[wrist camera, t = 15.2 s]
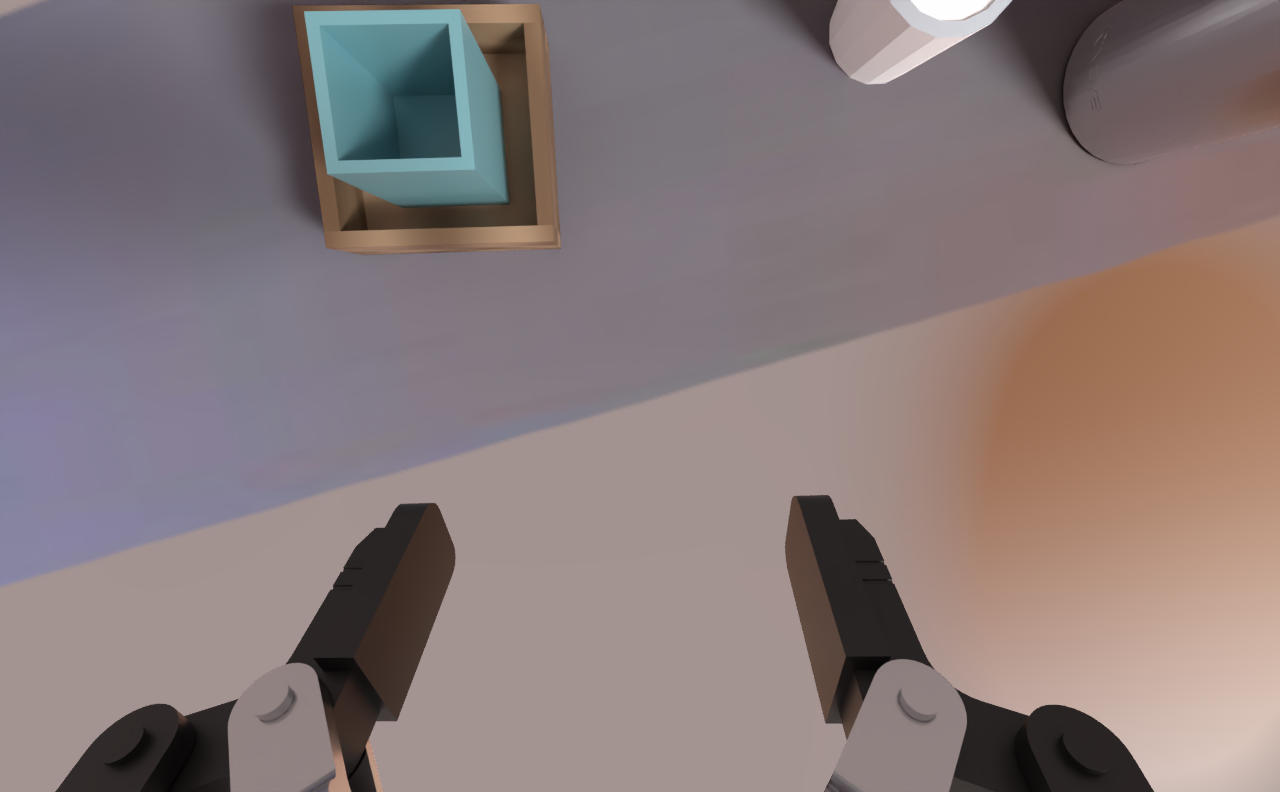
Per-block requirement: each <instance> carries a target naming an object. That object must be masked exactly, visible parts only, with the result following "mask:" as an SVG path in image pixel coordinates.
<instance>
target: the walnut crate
mask: <svg viewBox="0 0 1280 792" xmlns="http://www.w3.org/2000/svg"><path fill="white" fill-rule="evenodd" d="M292 7H293V14H294V21H295V28H296V35H297V42H298V50H299V57H300V64H301V71H302V78H303V85H304V92H305V100H306V107H307V114H308V121H309V128H310V135H311V142H312V149H313V157H314V164H315V171H316V178H317V185H318V192H319V199H320V207H321V214H322V221H323V228H324V235H325V242H326V248H329V249H334V250H340V251H345V252H350V253H356V254H361V255H374V254H406V253H438V252H470V251H502V250H534V249H561V240H560V224H559V207H558V191H557V175H556V158H555V142H554V126H553V110H552V93H551V77H550V61H549V44H548V40H547V36H546V31H545V27H544V23H543V18H542V14H541V10H540V5H539V4H474V5H317V6H292ZM435 9H460V10H461V12H462V14H463V16H464V18H465V20H466V22H467V24H468V26H469V28H470V30H471V32H472V34H473V36H474V38H475V40H476V42H477V44H478V46H479V48H480V50H481V52H482V54H483V56H484V58H485V60H486V62H487V64H488V66H489V68H490V70H491V72H492V74H493V76H494V78H495V80H496V82H497V83H498V85H499V87H500V89H501V101H502V113H503V125H504V137H505V149H506V161H507V173H508V184H509V196H510V204H508V205H479V206H449V207H419V208H401V207H399V206H397V205H395V204H392V203H390V202H388V201H386V200H384V199H381V198H379V197H377V196H375V195H373V194H370V193H368V192H366V191H364V190H361V189H359V188H357V187H355V186H353V185H350V184H348V183H346V182H344V181H342V180H339V179H337V178H335V177H333V176H331V175H328V174H327V168H326V161H325V154H324V147H323V140H322V133H321V126H320V120H319V113H318V106H317V99H316V92H315V85H314V78H313V71H312V64H311V57H310V50H309V43H308V36H307V29H306V22H305V15H304V11H365V10H435Z"/></svg>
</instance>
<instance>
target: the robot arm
mask: <svg viewBox="0 0 1280 792" xmlns="http://www.w3.org/2000/svg"><path fill="white" fill-rule="evenodd" d="M1063 102H1064V107H1065V113H1066V118H1067V121H1068V123H1069V125H1070V128H1071V130H1072V133H1073V134H1074V136H1075V137H1076V138H1077V140H1078V141H1079V143H1080V144H1081V145H1082V146H1083V147H1084V148H1085V149H1086V150H1087V151H1089V152H1090V153H1091V154H1092V155H1094V156H1096V157H1098V158H1100V159H1102V160H1104V161H1106V162H1110V163H1115V164H1120V165H1122V164H1137V163H1141V162H1145V161H1149V160H1153V159H1157V158H1161V157H1165V156H1169V155H1173V154H1176V153H1180V152H1184V151H1188V150H1192V149H1196V148H1200V147H1204V146H1208V145H1213V144H1217V143H1221V142H1225V141H1228V140H1232V139H1236V138H1240V137H1244V136H1248V135H1252V134H1255V133H1259V132H1263V131H1267V130H1271V129H1275V128H1279V127H1280V0H1123V1H1121V2H1119V3H1118V4H1116V5H1114V6H1112V7H1111V8H1109V9H1108V10H1107V11H1105V12H1104V13H1103V14H1101V15H1100V16H1099V17H1098V18H1096V19H1095V20H1094V21H1093V22H1092V24H1091V25H1090V26H1089V27H1088V28H1087V29H1086V30H1085V32H1084V33H1083V34H1082V36H1081V38H1080V39H1079V41H1078V42H1077V44H1076V46H1075V47H1074V49H1073V52H1072V55H1071V57H1070V60H1069V62H1068V65H1067V69H1066V74H1065V79H1064V92H1063ZM785 544H786V545H785V553H786V562H787V569H788V573H789V577H790V581H791V585H792V589H793V593H794V597H795V601H796V605H797V610H798V613H799V617H800V622H801V625H802V630H803V633H804V638H805V642H806V646H807V650H808V654H809V658H810V662H811V666H812V670H813V674H814V678H815V682H816V686H817V691H818V694H819V698H820V702H821V707H822V711H823V715H824V719H825V723H842V724H843V727H844V731H845V735H846V739H847V742H846V744H845V747H844V749H843V751H842V753H841V756H840V758H839V760H838V763H837V765H836V768H835V770H834V772H833V774H832V776H831V779H830V781H829V783H828V785H827V786H826V789H825V791H824V792H1154V791H1153V789H1152V788H1151V786H1150V785H1149V783H1148V781H1147V779H1146V778H1145V776H1144V774H1143V773H1142V771H1141V769H1140V768H1139V766H1138V764H1137V763H1136V761H1135V760H1134V758H1133V756H1132V755H1131V753H1130V752H1129V751H1128V749H1127V748H1126V746H1125V745H1124V744H1123V743H1122V742H1121V741H1120V739H1119V738H1118V737H1117V736H1115V735H1114V734H1113V733H1112V732H1111V731H1110V730H1109V729H1108V728H1107V727H1105V726H1104V725H1103V724H1101V723H1100V722H1098V721H1097V720H1095V719H1094V718H1092V717H1091V716H1089V715H1087V714H1085V713H1083V712H1081V711H1078V710H1076V709H1074V708H1070V707H1066V706H1062V705H1046V706H1042V707H1039V708H1037V709H1036V710H1035V711H1033V713H1031V715H1030V716H1027V715H1024V714H1021V713H1018V712H1015V711H1011V710H1008V709H1005V708H1002V707H998V706H995V705H992V704H989V703H985V702H982V701H980V700H977V699H974V698H972V697H970V696H968V695H966V694H964V693H962V692H960V691H959V690H957V689H956V688H954V687H953V686H952V684H951V683H950V682H949V681H948V680H947V679H946V678H945V677H944V676H942V675H941V674H940V673H938V672H937V671H936V670H935V669H934V668H933V667H932V666H931V664H930V662H929V661H928V659H927V657H926V655H925V653H924V651H923V649H922V647H921V645H920V642H919V640H918V638H917V635H916V633H915V631H914V628H913V626H912V624H911V622H910V619H909V617H908V615H907V613H906V610H905V608H904V605H903V603H902V601H901V598H900V596H899V594H898V592H897V589H896V587H895V585H894V584H893V583H892V578H891V576H890V573H889V571H888V569H887V566H886V565H884V559H883V557H882V555H881V553H880V550H879V548H878V546H877V543H876V541H875V539H874V538H873V536H872V535H871V534H870V533H869V532H868V531H867V530H866V529H865V528H864V527H863V526H862V525H861V524H860V523H859V522H858V521H857V520H856V519H853V520H852V519H849V520H839V517H838V515H837V512H836V509H835V507H834V504H833V502H832V500H831V498H830V496H828V495H817V496H794V497H793V498H792V501H791V508H790V515H789V521H788V528H787V535H786V543H785ZM454 566H455V548H454V545H453V542H452V540H451V537H450V535H449V532H448V529H447V527H446V524H445V522H444V519H443V517H442V514H441V512H440V509H439V508H438V506H437V505H436V504H435V503H419V504H400V505H399V506H398V507H397V508H396V509H395V511H394V512H393V514H392V516H391V518H390V519H389V521H388V523H387V525H386V527H385V528H375V529H374V530H373V531H372V532H371V533H370V534H369V535H368V536H367V537H366V538H365V539H364V540H362V542H360V543H359V544H358V545H357V546H356V548H355V549H354V551H353V553H352V554H351V556H350V558H349V560H348V561H347V563H346V564H345V566H344V571H343V572H341V573H340V575H339V576H338V578H337V580H336V582H335V583H334V585H333V590H330V592H329V593H328V595H327V597H326V598H325V600H324V602H323V604H322V605H321V607H320V609H319V610H318V612H317V614H316V615H315V617H314V619H313V620H312V622H311V624H310V625H309V627H308V629H307V631H306V632H305V634H304V636H303V637H302V639H301V641H300V643H299V644H298V646H297V648H296V649H295V651H294V653H293V654H292V656H291V658H290V659H289V661H288V662H287V663H286V664H285V665H283V666H280V667H277V668H275V669H273V670H271V671H269V672H267V673H266V674H264V675H263V676H261V677H260V678H259V679H257V680H256V681H255V682H254V683H253V684H251V686H249V687H248V688H247V690H246V691H245V692H244V693H243V694H242V695H241V696H240V698H239V699H237V700H234V701H231V702H228V703H225V704H221V705H218V706H215V707H212V708H209V709H206V710H202V711H199V712H196V713H193V714H190V715H187V716H183V715H182V714H181V713H179V712H178V711H177V710H176V709H175V708H173V707H172V706H170V705H167V704H154V705H149V706H146V707H143V708H140V709H138V710H136V711H133V712H131V713H130V714H128V715H126V716H124V717H123V718H121V719H120V720H118V721H117V722H115V723H114V724H113V725H111V726H110V727H109V728H108V729H106V731H104V732H103V733H102V734H101V735H100V736H99V737H98V738H97V739H96V740H95V741H94V742H93V743H92V744H91V746H90V747H89V748H88V749H87V750H86V752H85V753H84V754H83V756H82V757H81V758H80V760H79V761H78V762H77V764H76V765H75V766H74V768H73V769H72V770H71V772H70V773H69V774H68V776H67V777H66V778H65V780H64V781H63V783H62V784H61V785H60V787H59V788H58V789H57V790H56V792H383V789H382V785H381V781H380V777H379V773H378V769H377V765H376V761H375V757H374V754H373V750H372V746H371V743H370V741H369V737H370V735H371V732H372V730H373V727H374V725H375V722H376V721H397V719H398V717H399V714H400V711H401V709H402V706H403V704H404V701H405V698H406V696H407V693H408V690H409V688H410V685H411V683H412V680H413V677H414V675H415V672H416V669H417V667H418V664H419V662H420V659H421V656H422V654H423V651H424V648H425V646H426V643H427V640H428V638H429V635H430V632H431V630H432V627H433V624H434V622H435V619H436V616H437V614H438V611H439V609H440V606H441V603H442V601H443V598H444V595H445V593H446V590H447V588H448V585H449V582H450V580H451V577H452V574H453V571H454Z"/></svg>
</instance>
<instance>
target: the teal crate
mask: <svg viewBox="0 0 1280 792" xmlns="http://www.w3.org/2000/svg"><path fill="white" fill-rule="evenodd" d="M304 15H305V22H306V29H307V36H308V43H309V50H310V57H311V64H312V71H313V78H314V85H315V92H316V99H317V106H318V113H319V120H320V126H321V133H322V140H323V147H324V154H325V161H326V168H327V174H328V175H331V176H333V177H335V178H337V179H339V180H342V181H344V182H346V183H348V184H350V185H353V186H355V187H357V188H359V189H361V190H364V191H366V192H368V193H370V194H373V195H375V196H377V197H379V198H381V199H384V200H386V201H388V202H390V203H392V204H395V205H397V206H399V207H401V208H419V207H449V206H479V205H508V204H510V196H509V184H508V173H507V161H506V149H505V137H504V125H503V113H502V101H501V89H500V87H499V85H498V83H497V82H496V80H495V78H494V76H493V74H492V72H491V70H490V68H489V66H488V64H487V62H486V60H485V58H484V56H483V54H482V52H481V50H480V48H479V46H478V44H477V42H476V40H475V38H474V36H473V34H472V32H471V30H470V28H469V26H468V24H467V22H466V20H465V18H464V16H463V14H462V12H461V10H460V9H435V10H365V11H304Z"/></svg>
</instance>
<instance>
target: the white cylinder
mask: <svg viewBox="0 0 1280 792" xmlns="http://www.w3.org/2000/svg"><path fill="white" fill-rule="evenodd" d="M1011 1H1012V0H838V1H837V4H836V6H835V9H834V12H833V14H832V17H831V20H830V26H829V44H830V47H831V50H832V52H833V55H834V58H835V61H836V63H837V64H838V65H839V66H840V68H841V69H842V70H843V71H844V72H845V73H846V74H847V75H848V76H849V77H850V78H852V79H855V80H857V81H859V82H862V83H864V84H885V83H887V82H889V81H891V80H893V79H895V78H897V77H899V76H901V75H903V74H904V73H906V72H908V71H910V70H911V69H913V68H915V67H917V66H918V65H920V64H922V63H923V62H925V61H927V60H929V59H930V58H932V57H934V56H936V55H937V54H939V53H941V52H943V51H944V50H946V49H948V48H950V47H951V46H953V45H955V44H956V43H958V42H960V41H962V40H963V39H965V38H967V37H969V36H970V35H972V34H974V33H976V32H977V31H979V30H981V29H983V28H984V27H986V26H988V25H989V24H991V23H992V22H993V21H994V20H995V19H996V18H997V17H998V16H999V15H1000V13H1001V12H1002V11H1003V10H1004V9H1005V8H1006V7H1007V6H1008V4H1009V3H1010V2H1011Z"/></svg>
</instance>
